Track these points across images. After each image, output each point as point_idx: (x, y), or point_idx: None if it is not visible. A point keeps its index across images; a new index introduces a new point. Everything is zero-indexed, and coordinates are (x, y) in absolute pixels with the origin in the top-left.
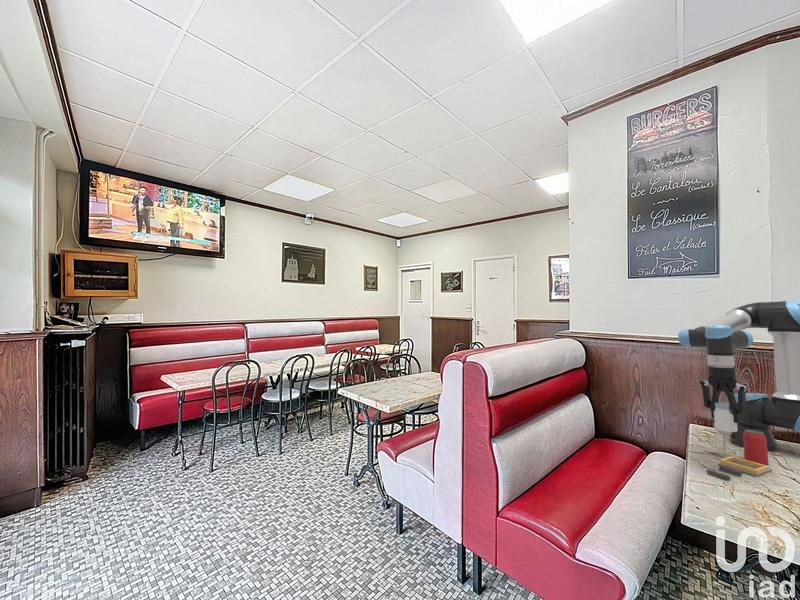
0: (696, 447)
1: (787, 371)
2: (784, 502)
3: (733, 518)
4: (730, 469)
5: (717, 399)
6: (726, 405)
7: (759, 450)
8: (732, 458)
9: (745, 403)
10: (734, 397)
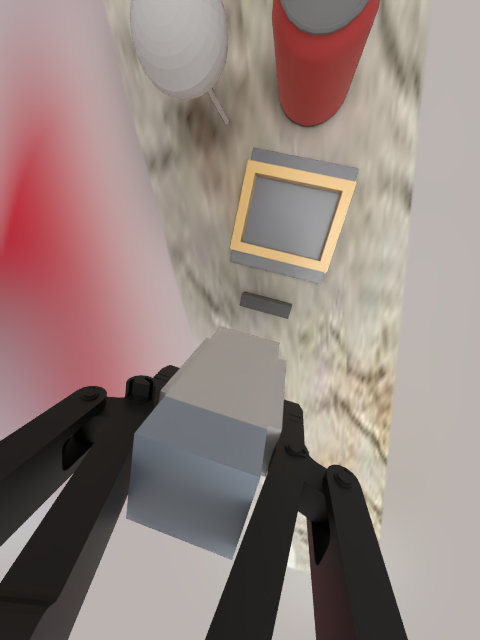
0: (135, 86)
1: None
2: (376, 418)
3: (303, 539)
4: (266, 310)
5: (112, 508)
6: (219, 543)
7: (335, 92)
8: (253, 181)
9: (386, 596)
10: (268, 637)
